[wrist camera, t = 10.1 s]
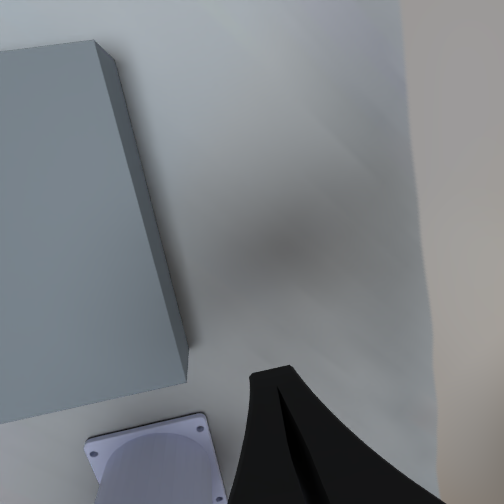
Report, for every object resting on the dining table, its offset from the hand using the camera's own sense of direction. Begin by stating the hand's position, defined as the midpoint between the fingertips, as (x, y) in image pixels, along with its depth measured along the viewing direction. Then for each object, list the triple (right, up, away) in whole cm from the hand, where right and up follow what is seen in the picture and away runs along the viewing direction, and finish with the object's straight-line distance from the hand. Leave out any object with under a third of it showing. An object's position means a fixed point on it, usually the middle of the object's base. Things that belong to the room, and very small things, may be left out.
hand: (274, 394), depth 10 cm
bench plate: (-13, +5, +6) cm, 15 cm away
